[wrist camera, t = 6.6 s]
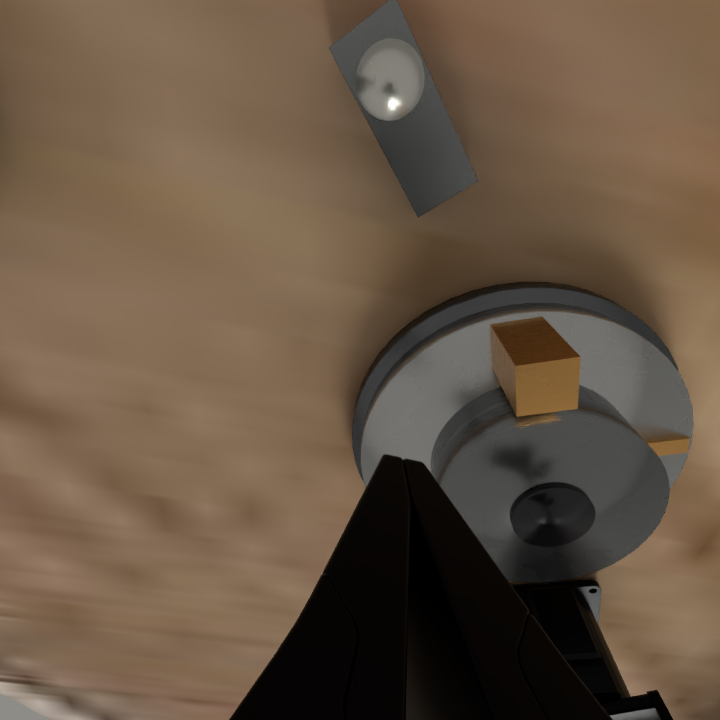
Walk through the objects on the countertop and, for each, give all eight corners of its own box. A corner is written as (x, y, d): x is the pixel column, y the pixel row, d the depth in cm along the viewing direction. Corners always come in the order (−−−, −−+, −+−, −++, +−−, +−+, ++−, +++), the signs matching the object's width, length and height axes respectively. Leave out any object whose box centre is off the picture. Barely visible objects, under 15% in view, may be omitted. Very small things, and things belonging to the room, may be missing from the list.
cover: (617, 520, 21) (657, 583, 18) (438, 535, 22) (448, 597, 19) (640, 366, 17) (696, 413, 14) (420, 393, 18) (429, 443, 15)
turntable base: (651, 520, 24) (661, 534, 23) (382, 547, 26) (382, 561, 25) (694, 249, 17) (711, 255, 16) (321, 316, 19) (318, 324, 18)
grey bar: (468, 177, 16) (479, 181, 14) (414, 210, 17) (418, 218, 15) (393, 13, 14) (395, -7, 12) (334, 58, 15) (328, 46, 13)
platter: (654, 535, 23) (715, 621, 19) (387, 558, 25) (388, 641, 21) (702, 273, 16) (814, 317, 12) (332, 333, 18) (318, 388, 14)
